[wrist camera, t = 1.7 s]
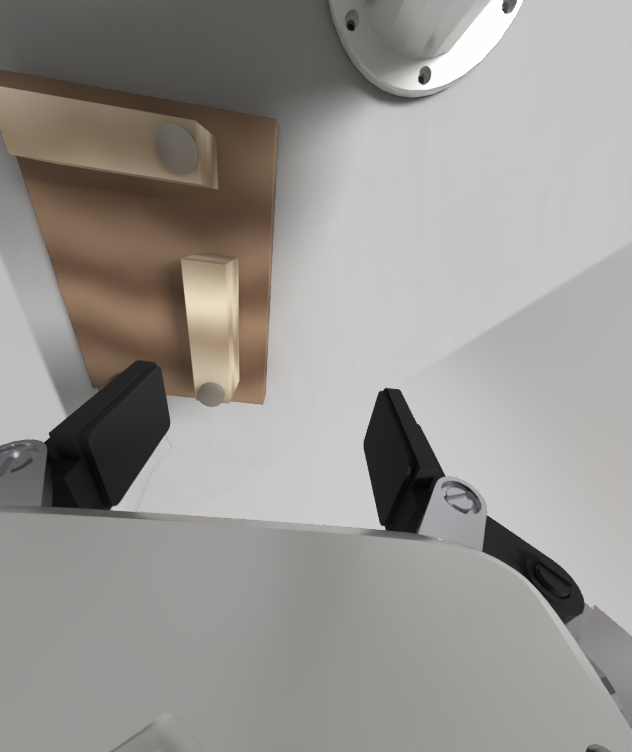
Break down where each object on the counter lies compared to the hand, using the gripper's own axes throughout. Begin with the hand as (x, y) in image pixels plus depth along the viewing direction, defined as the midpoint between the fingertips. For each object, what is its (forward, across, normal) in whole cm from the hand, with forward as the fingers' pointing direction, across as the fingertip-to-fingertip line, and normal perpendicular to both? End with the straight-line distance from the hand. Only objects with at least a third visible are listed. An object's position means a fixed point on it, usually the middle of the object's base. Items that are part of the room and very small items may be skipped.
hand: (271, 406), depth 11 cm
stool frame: (+18, +11, 0) cm, 21 cm away
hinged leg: (+16, +6, +3) cm, 17 cm away
